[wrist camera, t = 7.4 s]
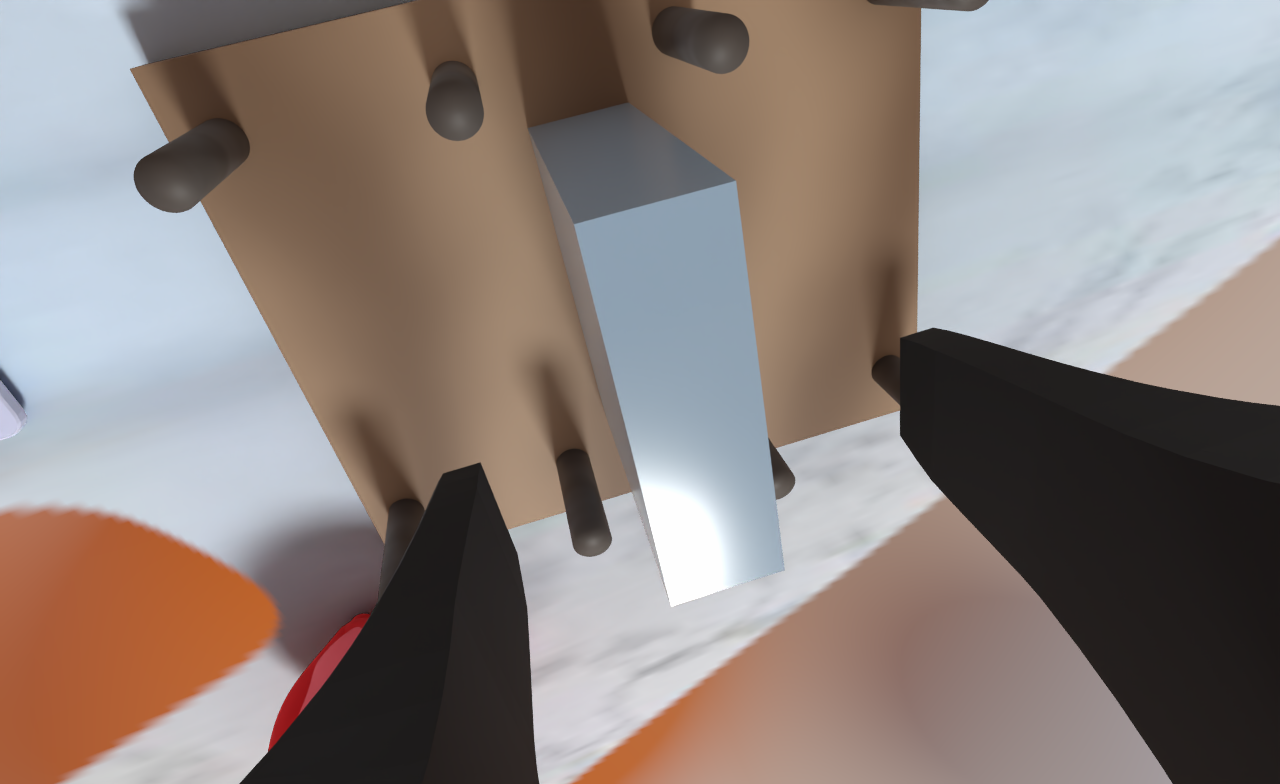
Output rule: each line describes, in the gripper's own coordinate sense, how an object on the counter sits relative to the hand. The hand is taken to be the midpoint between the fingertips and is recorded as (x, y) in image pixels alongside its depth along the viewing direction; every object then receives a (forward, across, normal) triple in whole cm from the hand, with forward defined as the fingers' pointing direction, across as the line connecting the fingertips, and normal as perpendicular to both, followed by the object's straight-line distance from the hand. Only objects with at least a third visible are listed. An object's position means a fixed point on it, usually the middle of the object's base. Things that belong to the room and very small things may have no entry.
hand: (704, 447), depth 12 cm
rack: (+9, 0, 0) cm, 9 cm away
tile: (+8, 0, 0) cm, 8 cm away
